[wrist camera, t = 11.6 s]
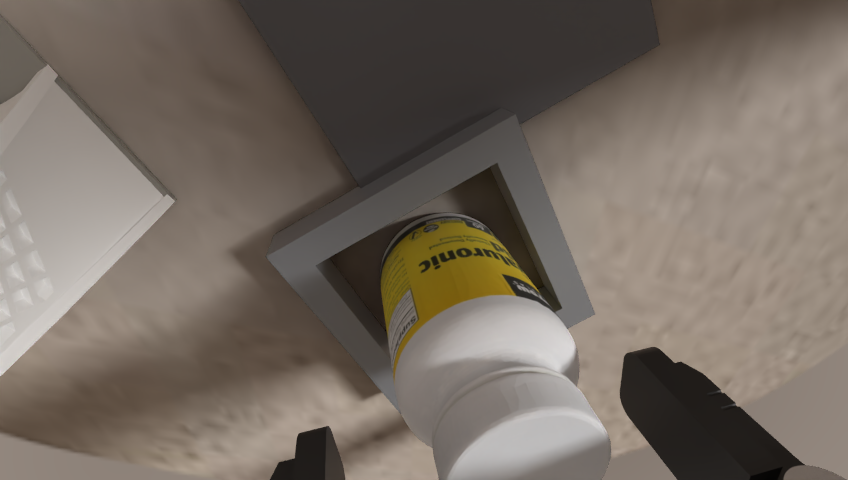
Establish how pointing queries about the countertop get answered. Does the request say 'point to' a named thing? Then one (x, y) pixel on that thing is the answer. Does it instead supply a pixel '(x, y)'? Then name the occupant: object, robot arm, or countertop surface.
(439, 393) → the supplement bottle
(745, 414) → the robot arm
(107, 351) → the countertop surface
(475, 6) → the mat
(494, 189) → the countertop surface
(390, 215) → the socket
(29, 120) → the skyscraper
